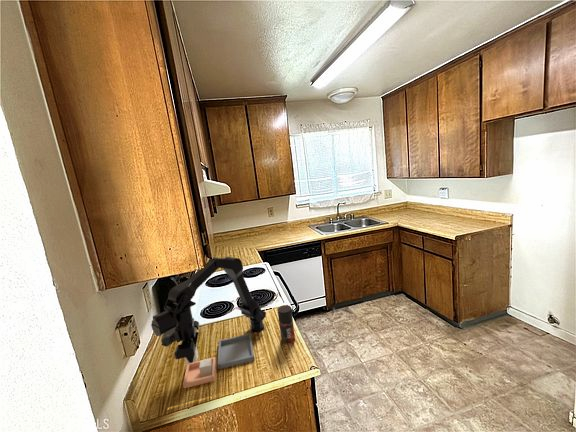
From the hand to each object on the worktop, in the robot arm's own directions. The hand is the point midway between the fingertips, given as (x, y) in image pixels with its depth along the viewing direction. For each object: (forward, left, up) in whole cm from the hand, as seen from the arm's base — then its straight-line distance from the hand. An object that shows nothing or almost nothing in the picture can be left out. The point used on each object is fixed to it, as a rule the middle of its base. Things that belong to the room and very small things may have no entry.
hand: (192, 358), depth 101 cm
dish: (0, +2, -8) cm, 8 cm away
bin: (-8, +16, -8) cm, 19 cm away
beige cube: (0, 0, 0) cm, 0 cm away
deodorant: (-8, +38, -8) cm, 40 cm away
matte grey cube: (0, +4, -7) cm, 8 cm away
